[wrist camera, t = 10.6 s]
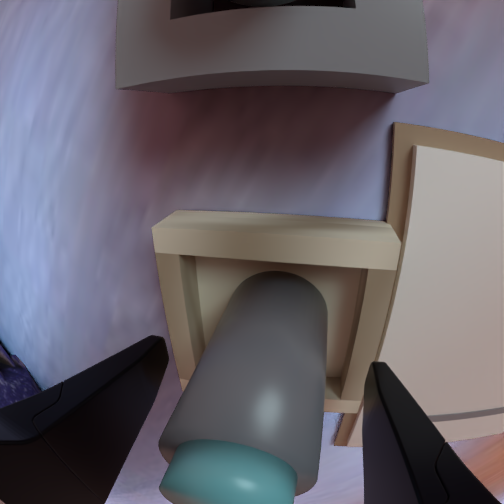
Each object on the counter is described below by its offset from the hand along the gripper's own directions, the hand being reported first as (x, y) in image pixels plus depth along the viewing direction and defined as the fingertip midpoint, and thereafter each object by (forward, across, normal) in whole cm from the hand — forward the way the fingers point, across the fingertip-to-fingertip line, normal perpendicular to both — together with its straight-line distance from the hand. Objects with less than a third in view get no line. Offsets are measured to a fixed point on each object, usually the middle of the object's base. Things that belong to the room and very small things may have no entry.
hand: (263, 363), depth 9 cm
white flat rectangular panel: (+3, -9, +1) cm, 10 cm away
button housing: (+3, 0, -11) cm, 11 cm away
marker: (+2, 0, 0) cm, 2 cm away
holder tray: (+3, 0, 0) cm, 3 cm away
